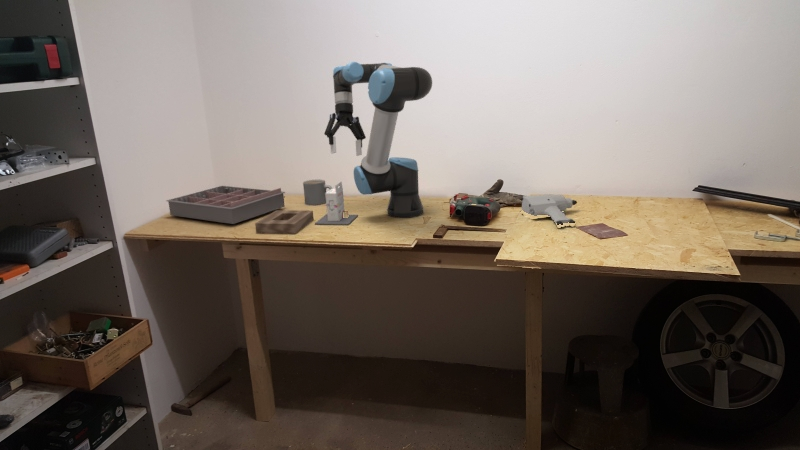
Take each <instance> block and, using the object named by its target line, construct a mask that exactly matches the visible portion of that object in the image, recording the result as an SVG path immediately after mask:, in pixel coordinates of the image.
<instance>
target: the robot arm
mask: <svg viewBox="0 0 800 450" xmlns="http://www.w3.org/2000/svg"><path fill="white" fill-rule="evenodd" d="M332 71H333V73H332V79H333V92H334V93H333V94H334V96H333V97H334V104H335V105H334V111H335V112H333V113H330V114H329V120H328V122H327V125H326V127H325V128H326V129H325V131H324V133H323V134H324V135H325V136H326V138H327V139H328V144H329V146H330V154H335V153H337V141H336V139H337V138H336V136H335V135H336V133H337V132H338V130H339V129H340V128H341V127H345V128H347V129H349V130H350V131H351V133H352V135H353V136H354V137H355V139H356V140H355V154H356V156H357V157H358V156H363V151H362V149H363V140H366V139H367V138H366V134H365V131H364V129H363V127H362V125H361V122H360V117H359V116H355V117H354V116H353V113H354V104H353V102H354V101H353V99H354V98H353V86H354V85H355V84H368V85H367V89H368V91H367V94H368V98H369V100H370V101H371V104H372V105H373V107H374V112H373V117H372V123H371V127H370V128H371V129H370V134H369V140H368V145H367V150H366V155H365V156H363V157H362V159H361V161H360V165H356V166H355V167H354V169H353V179H354V183H355V186H356V189H357V191H358V192H359V193H360V194H361V195H373V194H380V193H386V192H390V197H389V201H388V204H387V209H386V211H387V216H389V217H391V218H401V219H403V218H407V219H408V218H415V217H419V216H422V215H423V214H424V213H425V212H424V206H423V203H422V199H421V197H420V194H419V191H420V190H419V189H420V188H419V167H418V162H417V160H415V159H414V158H408V157H396V156H395V157H390V152H391V149H392V148H391V147H392V145H393V144H392V143H393V139H394V134H395V130H396V125H397V122H398V121H397V120H398V116H399V113H400V112H401V111H403V110H404V108H405V103H406V102H412V101H413V102H414V101H418V100H422V99H424V98H425V97H426V96H428V94H429V93H430V92H431V90H432V86H433V79H432V75H431V73H429V71H428V70H426V69H425V68H423V67H419V66H417V67H416V66H410V67H409V66H407V67H400V66H395V65H392V63H389V62H381V63H380V62H379V63H363V64H362V63H359V62H357V61H351V62H349V63H348V64H347V63H346V65H339V66H335V67H334V69H333V70H332ZM335 121H336V122H335Z"/></svg>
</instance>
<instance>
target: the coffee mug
mask: <svg viewBox="0 0 800 450" xmlns="http://www.w3.org/2000/svg"><path fill="white" fill-rule="evenodd" d="M302 185H303V197H304V204H305V205H306V206H321V205H325V204H326V196H325V193H326V192H327V189H328V190H331V189H334V188H333V187H332V185H329V184H326V180H325V179H321V178H320V179H318V178H317V179H308V180H304V181H303V183H302Z"/></svg>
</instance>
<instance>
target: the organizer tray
mask: <svg viewBox="0 0 800 450" xmlns="http://www.w3.org/2000/svg"><path fill="white" fill-rule="evenodd" d="M285 193H286V191H282V187H278V188H275V189H272V190H268V189H260V188H259V189H258V188H251V187H250V188H249V187H238V186H229V185H228V186H226V185H219V186H216V187H212V188H209V189H204V190H201V191H197V192H196V191H195V192H193V193H189V194H186V195H182V196H178V197H175V198H170V199H167V200H165V202H168V206H169V209H168V210H169V213H170V216H175V217H181V218H188V219H195V220H203V221H209V222H215V223H216V222H217V223H224V224H229V225H230V224H231V225H236V224H238V223H240V222H244V221H246V220H250V219H252V218H253V219H254V218H255V217H258V216H261V215H264V214H268V213H271V212H272V211H273V212H274V211H276V210H279V209H281V208H285V196H284V194H285Z"/></svg>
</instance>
